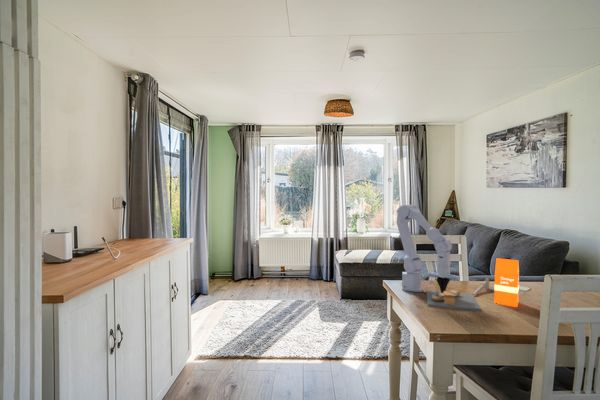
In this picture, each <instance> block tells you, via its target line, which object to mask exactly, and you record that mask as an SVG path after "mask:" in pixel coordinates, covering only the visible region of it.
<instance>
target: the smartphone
mask: <svg viewBox="0 0 600 400" xmlns="http://www.w3.org/2000/svg"><path fill="white" fill-rule="evenodd" d="M531 289H532V288H530V287H526V286H522V285H519V292H521V291H522V292H528V291H531Z"/></svg>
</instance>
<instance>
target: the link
mask: <svg viewBox="0 0 600 400" xmlns="http://www.w3.org/2000/svg"><path fill="white" fill-rule="evenodd" d="M434 291H435V294H433V295H432V300H435V301H442V300H444V299H445V296H444V292H443V293H439V292H440V291H437V290H434ZM448 291H449V292H453V293H454V295H455V296H459V295H460V293H461V291H460V290H458V289H452V290H448Z"/></svg>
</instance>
